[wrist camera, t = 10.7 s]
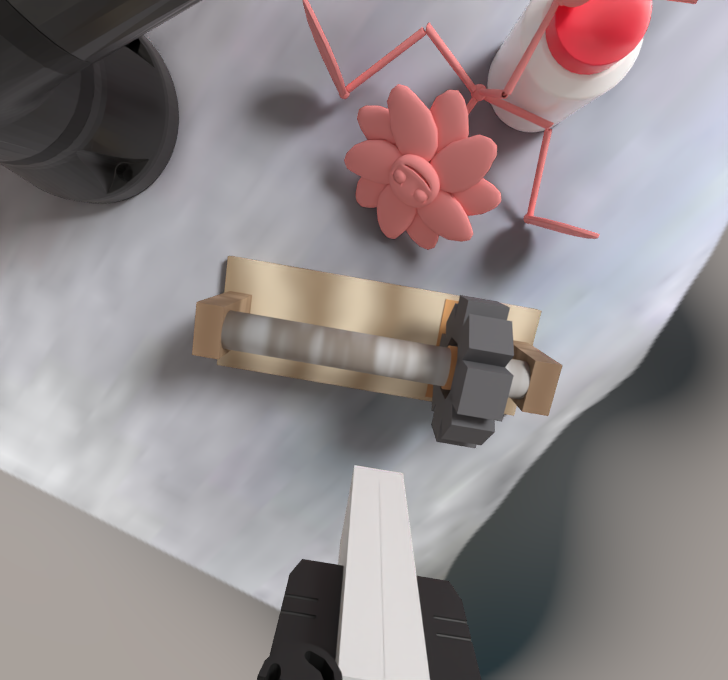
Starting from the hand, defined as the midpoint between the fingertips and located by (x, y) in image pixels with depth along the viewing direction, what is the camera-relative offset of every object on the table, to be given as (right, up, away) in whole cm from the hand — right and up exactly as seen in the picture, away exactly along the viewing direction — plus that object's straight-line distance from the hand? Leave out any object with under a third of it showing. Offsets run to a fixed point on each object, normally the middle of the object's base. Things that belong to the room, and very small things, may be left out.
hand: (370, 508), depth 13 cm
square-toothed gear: (+8, +4, +26) cm, 27 cm away
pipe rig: (+1, +6, +27) cm, 28 cm away
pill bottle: (+14, +26, +22) cm, 37 cm away
